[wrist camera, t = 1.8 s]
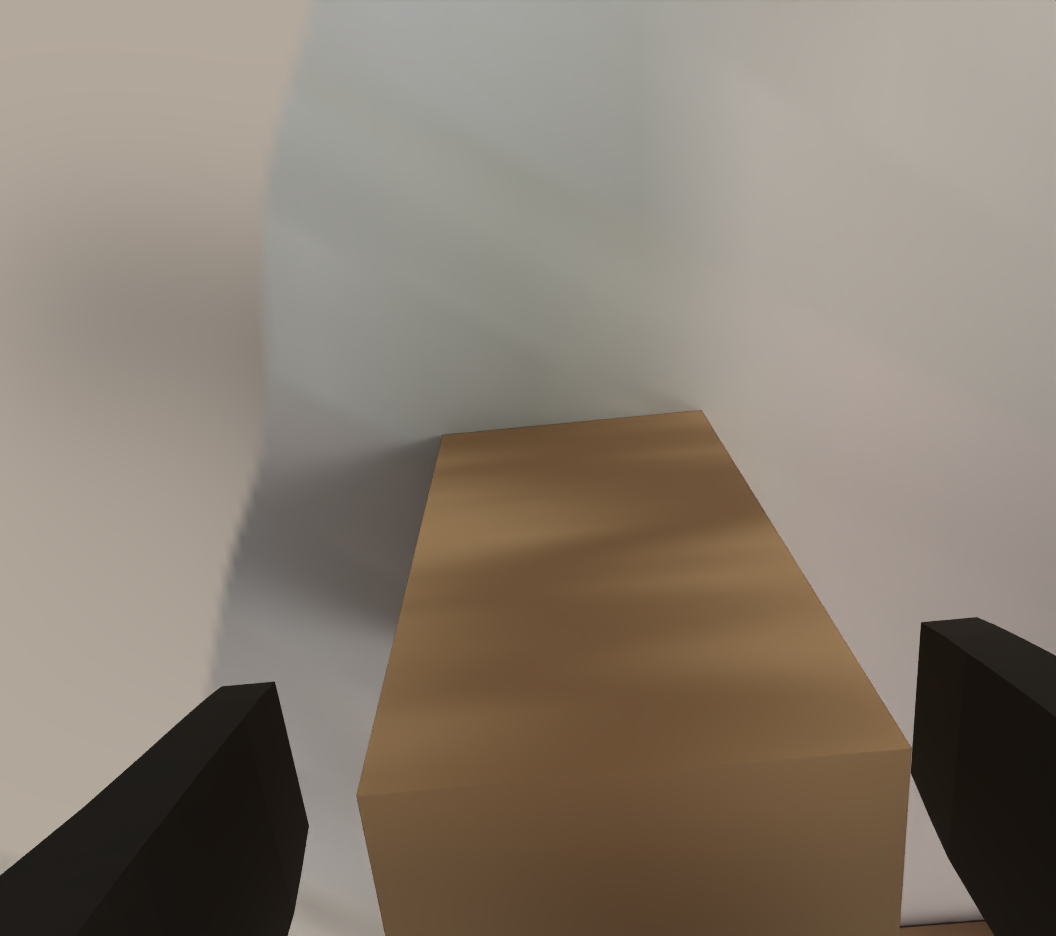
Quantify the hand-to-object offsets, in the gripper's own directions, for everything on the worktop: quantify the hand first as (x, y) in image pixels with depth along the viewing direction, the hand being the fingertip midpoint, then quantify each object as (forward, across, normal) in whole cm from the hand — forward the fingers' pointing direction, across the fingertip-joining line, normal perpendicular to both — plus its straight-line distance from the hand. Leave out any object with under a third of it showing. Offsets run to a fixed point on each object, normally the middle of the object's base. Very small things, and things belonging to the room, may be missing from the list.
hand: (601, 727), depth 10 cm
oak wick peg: (+5, 0, 0) cm, 5 cm away
